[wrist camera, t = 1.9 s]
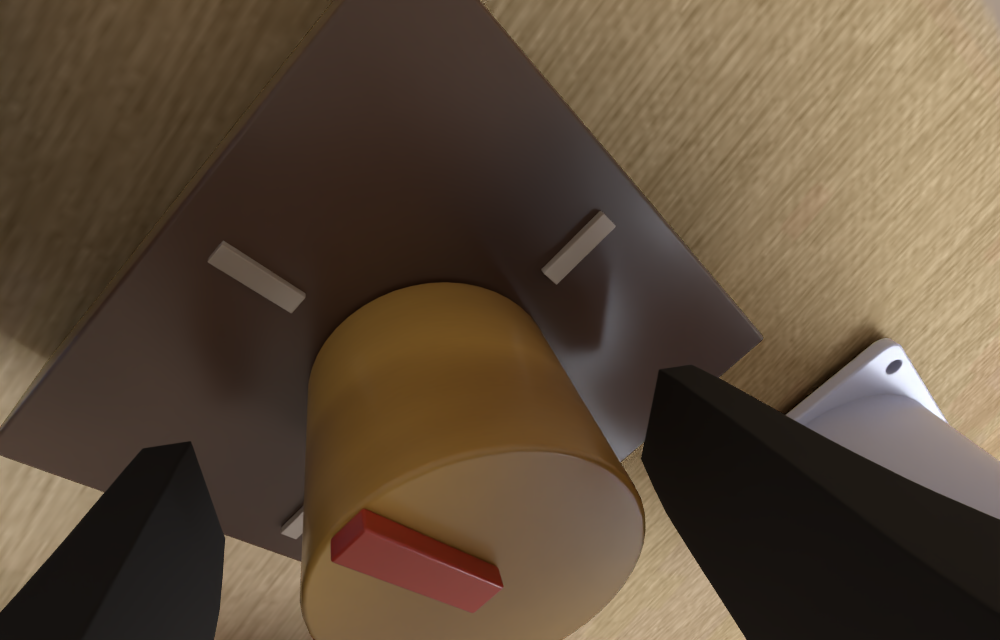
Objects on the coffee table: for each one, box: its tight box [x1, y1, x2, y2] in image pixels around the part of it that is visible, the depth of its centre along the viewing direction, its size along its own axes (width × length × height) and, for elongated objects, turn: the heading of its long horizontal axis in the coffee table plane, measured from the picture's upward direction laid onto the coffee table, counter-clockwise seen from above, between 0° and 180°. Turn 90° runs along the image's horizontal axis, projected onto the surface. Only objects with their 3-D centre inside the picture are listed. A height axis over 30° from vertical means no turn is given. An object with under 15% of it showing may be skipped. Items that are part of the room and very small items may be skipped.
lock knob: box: [300, 282, 645, 640], centre depth 9 cm, size 4×4×4 cm
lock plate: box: [0, 0, 763, 561], centre depth 11 cm, size 10×10×3 cm
